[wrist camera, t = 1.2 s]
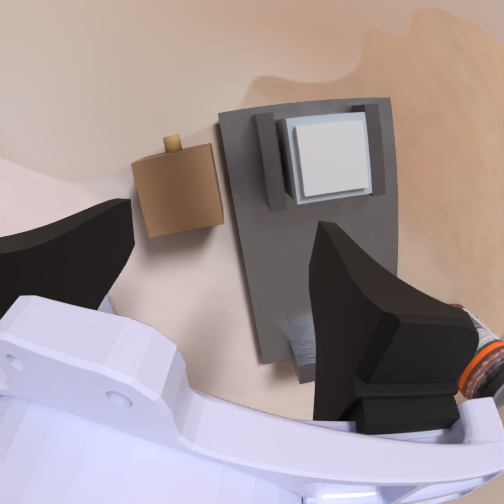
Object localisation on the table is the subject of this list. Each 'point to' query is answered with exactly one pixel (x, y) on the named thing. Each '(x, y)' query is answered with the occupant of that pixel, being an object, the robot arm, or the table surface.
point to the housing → (178, 189)
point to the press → (302, 219)
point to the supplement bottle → (484, 367)
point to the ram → (325, 156)
